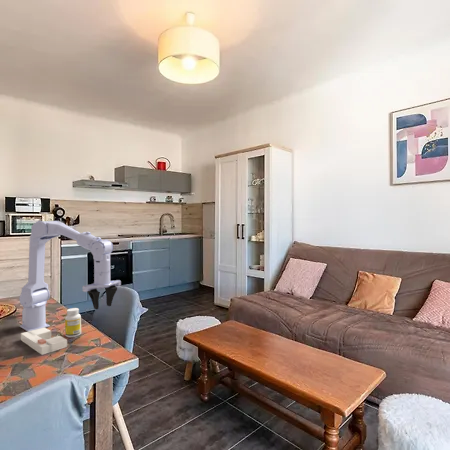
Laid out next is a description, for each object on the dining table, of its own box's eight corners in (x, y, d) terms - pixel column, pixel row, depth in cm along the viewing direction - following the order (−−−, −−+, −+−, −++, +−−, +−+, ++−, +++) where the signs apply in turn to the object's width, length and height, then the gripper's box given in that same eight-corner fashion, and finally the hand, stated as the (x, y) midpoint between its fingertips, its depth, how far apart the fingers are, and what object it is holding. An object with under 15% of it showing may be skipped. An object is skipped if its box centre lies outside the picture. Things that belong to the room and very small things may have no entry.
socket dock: (20, 340, 113) (20, 331, 113) (44, 333, 120) (44, 325, 119) (41, 354, 101) (41, 344, 101) (67, 346, 108) (67, 337, 107)
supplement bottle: (68, 332, 121) (68, 307, 121) (83, 332, 122) (83, 307, 121) (62, 337, 116) (62, 311, 115) (77, 337, 116) (77, 311, 116)
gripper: (89, 275, 111) (89, 313, 111) (125, 270, 122) (125, 304, 122) (79, 273, 115) (79, 310, 115) (115, 268, 126) (115, 301, 127)
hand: (102, 307), depth 119 cm, fingers open, 5 cm apart
